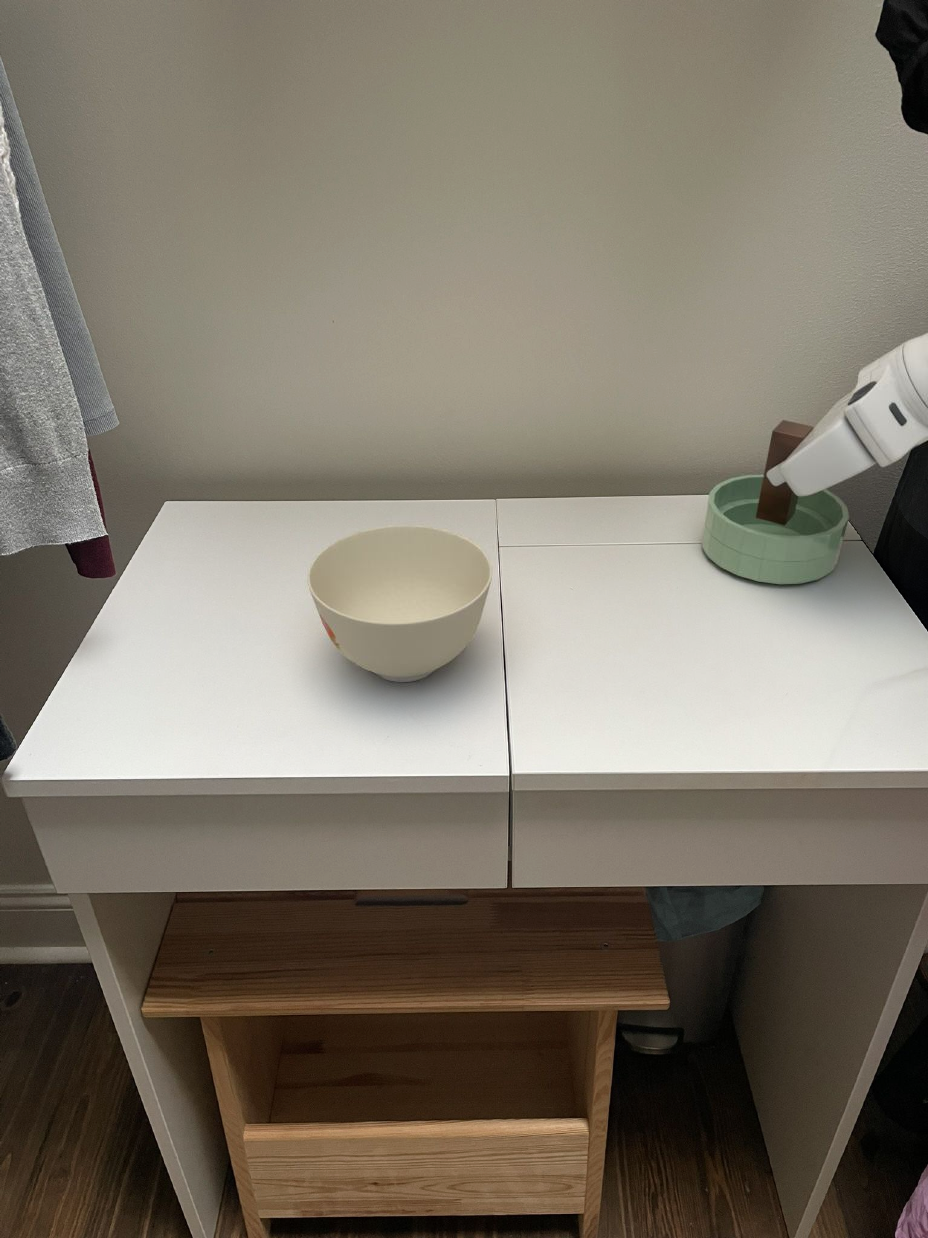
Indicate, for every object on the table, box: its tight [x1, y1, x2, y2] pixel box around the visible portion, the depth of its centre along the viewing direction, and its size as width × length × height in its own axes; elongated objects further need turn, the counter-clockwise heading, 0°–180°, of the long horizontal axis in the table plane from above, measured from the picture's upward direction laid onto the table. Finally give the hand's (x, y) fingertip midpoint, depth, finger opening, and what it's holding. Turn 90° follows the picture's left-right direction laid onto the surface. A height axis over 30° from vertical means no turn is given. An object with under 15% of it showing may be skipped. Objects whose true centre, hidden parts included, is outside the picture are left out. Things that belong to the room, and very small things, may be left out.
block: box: [756, 419, 815, 526], centre depth 98 cm, size 3×3×10 cm
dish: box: [701, 474, 850, 585], centre depth 102 cm, size 14×14×6 cm
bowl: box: [306, 524, 493, 683], centre depth 85 cm, size 16×16×10 cm
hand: (779, 469), depth 98 cm, fingers closed on block, 3 cm apart
